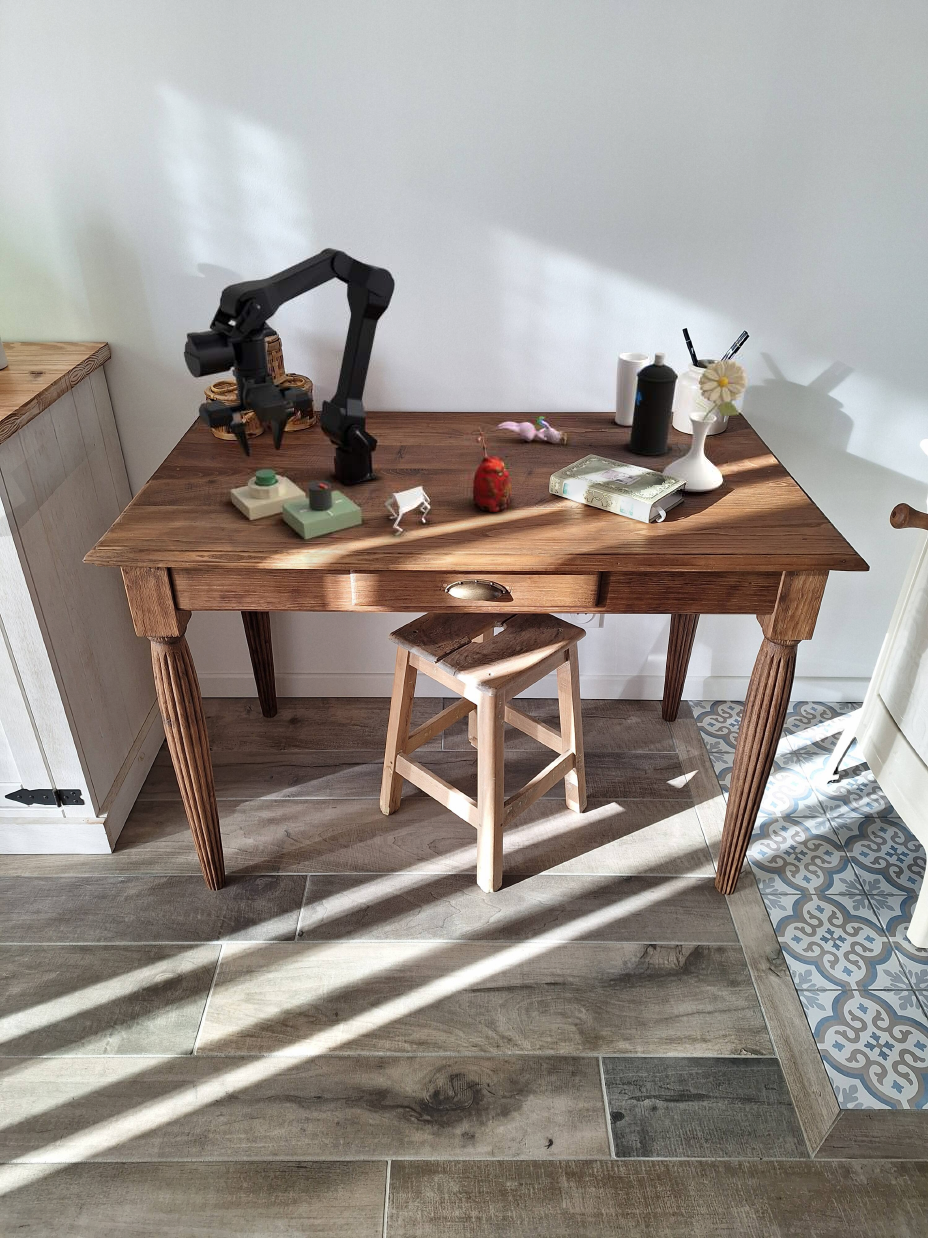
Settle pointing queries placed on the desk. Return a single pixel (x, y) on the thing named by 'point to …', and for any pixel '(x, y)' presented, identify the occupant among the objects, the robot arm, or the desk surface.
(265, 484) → the green button cap
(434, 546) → the desk surface
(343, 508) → the console
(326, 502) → the dial
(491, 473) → the red clay folk toy
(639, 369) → the white cylindrical vase
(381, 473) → the desk surface
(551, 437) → the rabbit figure
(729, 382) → the flower in vase
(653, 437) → the aerosol can
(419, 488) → the white block with legs
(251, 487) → the button base
